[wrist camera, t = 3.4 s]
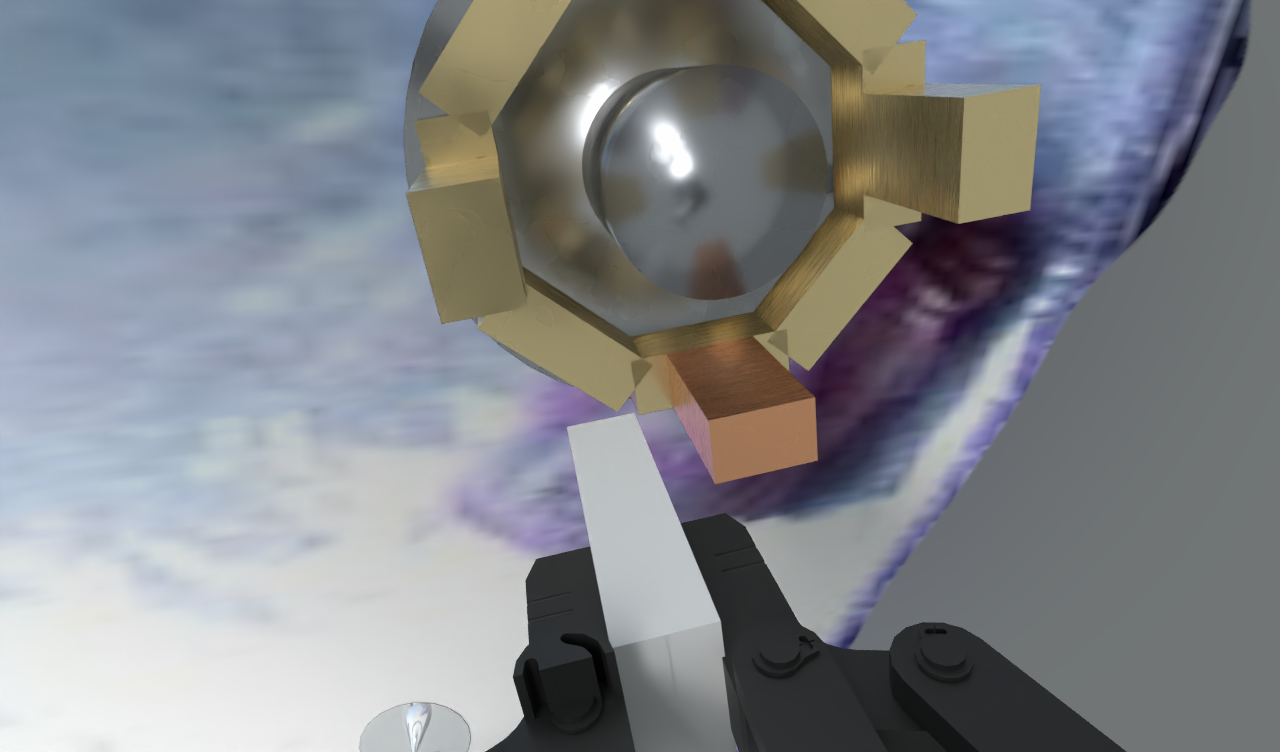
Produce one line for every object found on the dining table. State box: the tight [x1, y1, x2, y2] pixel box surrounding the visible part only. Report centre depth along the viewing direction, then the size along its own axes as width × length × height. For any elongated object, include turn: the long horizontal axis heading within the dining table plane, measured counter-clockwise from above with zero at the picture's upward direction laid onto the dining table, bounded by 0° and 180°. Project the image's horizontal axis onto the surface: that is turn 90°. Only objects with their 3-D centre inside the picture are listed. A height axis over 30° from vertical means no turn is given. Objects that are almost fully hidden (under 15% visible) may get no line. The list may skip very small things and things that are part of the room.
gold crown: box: [406, 0, 1041, 484], centre depth 20 cm, size 15×15×7 cm
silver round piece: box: [404, 0, 834, 398], centre depth 22 cm, size 17×17×7 cm
